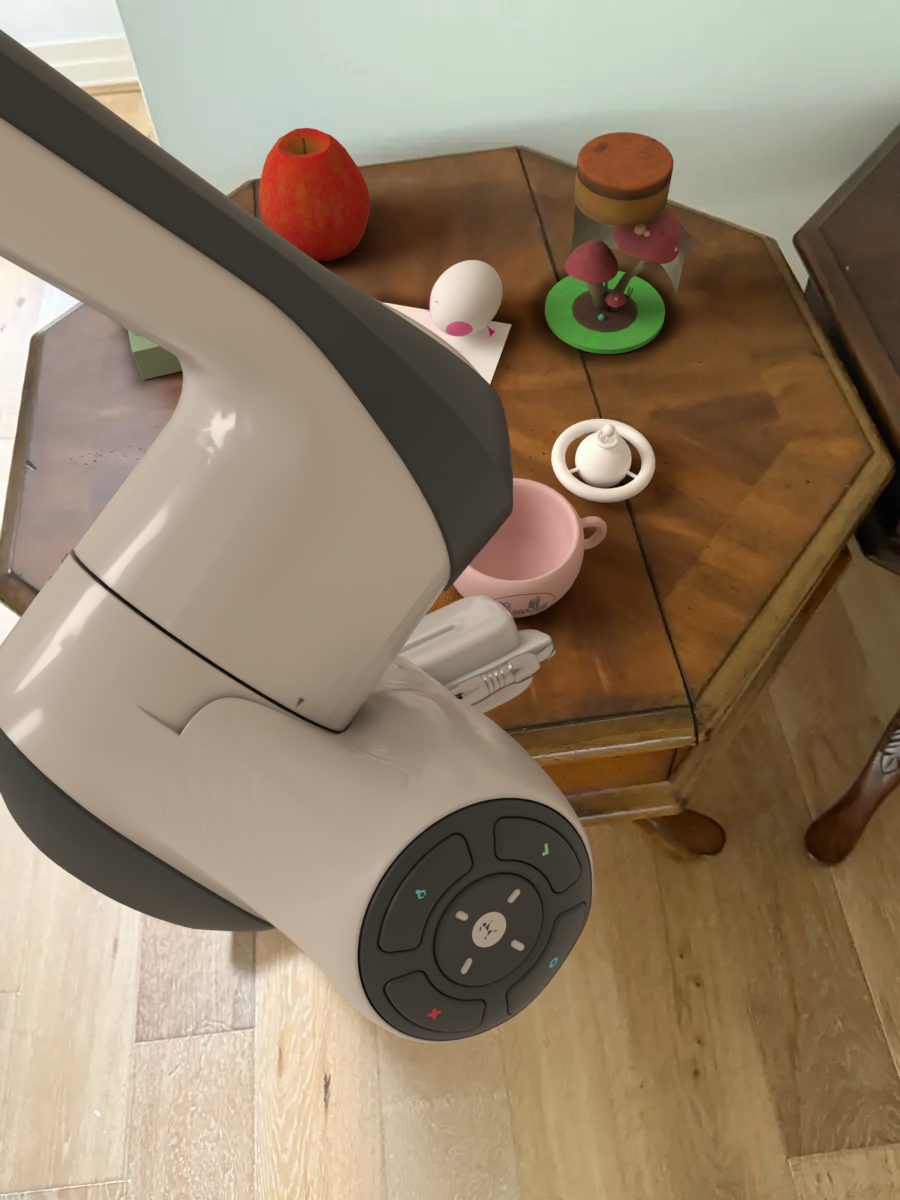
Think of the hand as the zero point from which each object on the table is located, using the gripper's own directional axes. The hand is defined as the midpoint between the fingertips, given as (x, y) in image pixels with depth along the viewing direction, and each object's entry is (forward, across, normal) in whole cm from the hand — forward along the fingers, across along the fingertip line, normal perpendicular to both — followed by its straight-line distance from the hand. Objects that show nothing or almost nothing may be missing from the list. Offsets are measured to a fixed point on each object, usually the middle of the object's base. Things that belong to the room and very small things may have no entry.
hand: (298, 681), depth 53 cm
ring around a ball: (+18, -29, 0) cm, 34 cm away
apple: (+45, -22, -27) cm, 56 cm away
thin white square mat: (+31, -23, -13) cm, 41 cm away
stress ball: (+32, -28, -15) cm, 45 cm away
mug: (+14, -19, +4) cm, 24 cm away
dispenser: (+40, -7, -22) cm, 46 cm away
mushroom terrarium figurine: (+29, -40, -11) cm, 50 cm away
